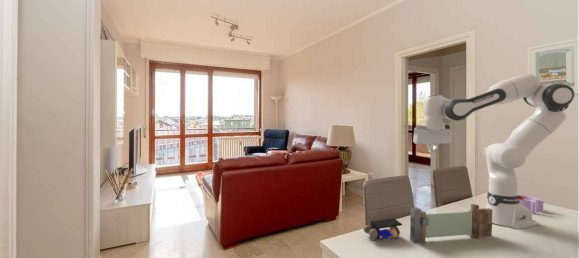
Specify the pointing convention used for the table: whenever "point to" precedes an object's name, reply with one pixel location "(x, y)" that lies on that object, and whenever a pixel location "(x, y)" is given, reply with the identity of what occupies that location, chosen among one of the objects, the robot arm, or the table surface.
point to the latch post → (416, 224)
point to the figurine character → (385, 233)
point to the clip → (532, 203)
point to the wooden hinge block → (481, 222)
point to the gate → (447, 224)
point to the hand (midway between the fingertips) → (432, 152)
